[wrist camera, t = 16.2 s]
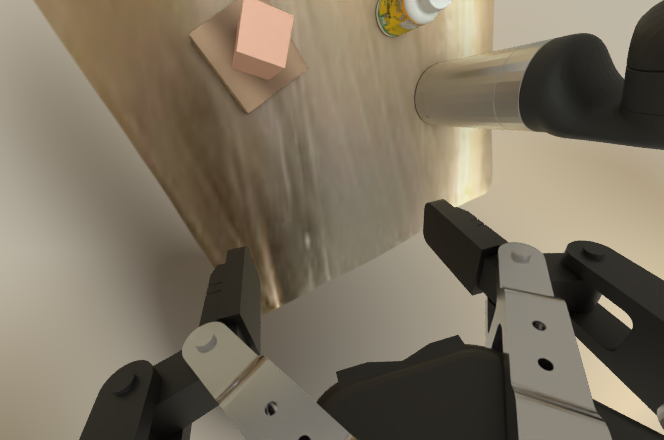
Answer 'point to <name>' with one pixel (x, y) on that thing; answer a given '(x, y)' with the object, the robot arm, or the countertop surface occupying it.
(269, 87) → the walnut block
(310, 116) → the countertop surface
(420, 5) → the supplement bottle
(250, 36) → the salmon pink block
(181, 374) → the robot arm
